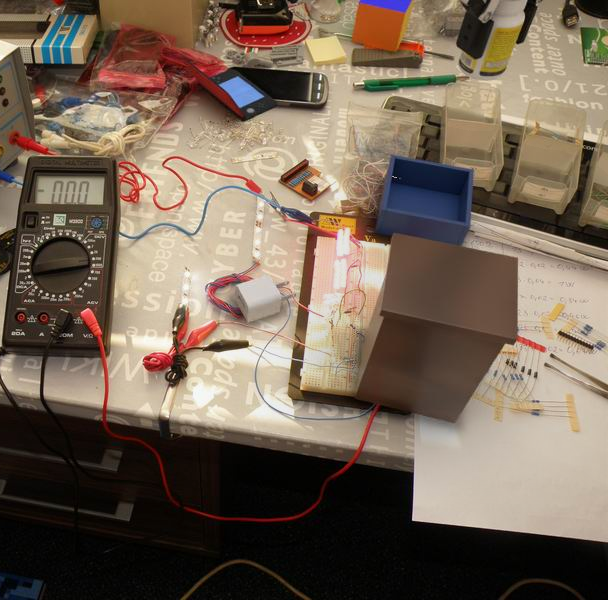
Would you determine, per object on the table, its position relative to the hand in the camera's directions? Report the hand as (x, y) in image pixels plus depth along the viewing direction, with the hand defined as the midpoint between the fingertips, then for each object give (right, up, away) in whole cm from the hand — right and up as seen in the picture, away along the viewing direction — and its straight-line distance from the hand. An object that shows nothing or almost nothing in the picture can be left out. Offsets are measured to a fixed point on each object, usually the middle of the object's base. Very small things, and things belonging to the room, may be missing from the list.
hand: (489, 43), depth 68 cm
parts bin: (+1, -14, +25) cm, 29 cm away
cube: (+2, +21, +52) cm, 56 cm away
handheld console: (-25, +6, +41) cm, 49 cm away
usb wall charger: (-21, -27, +16) cm, 38 cm away
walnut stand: (-6, -35, +9) cm, 37 cm away
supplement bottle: (0, -2, +3) cm, 3 cm away
